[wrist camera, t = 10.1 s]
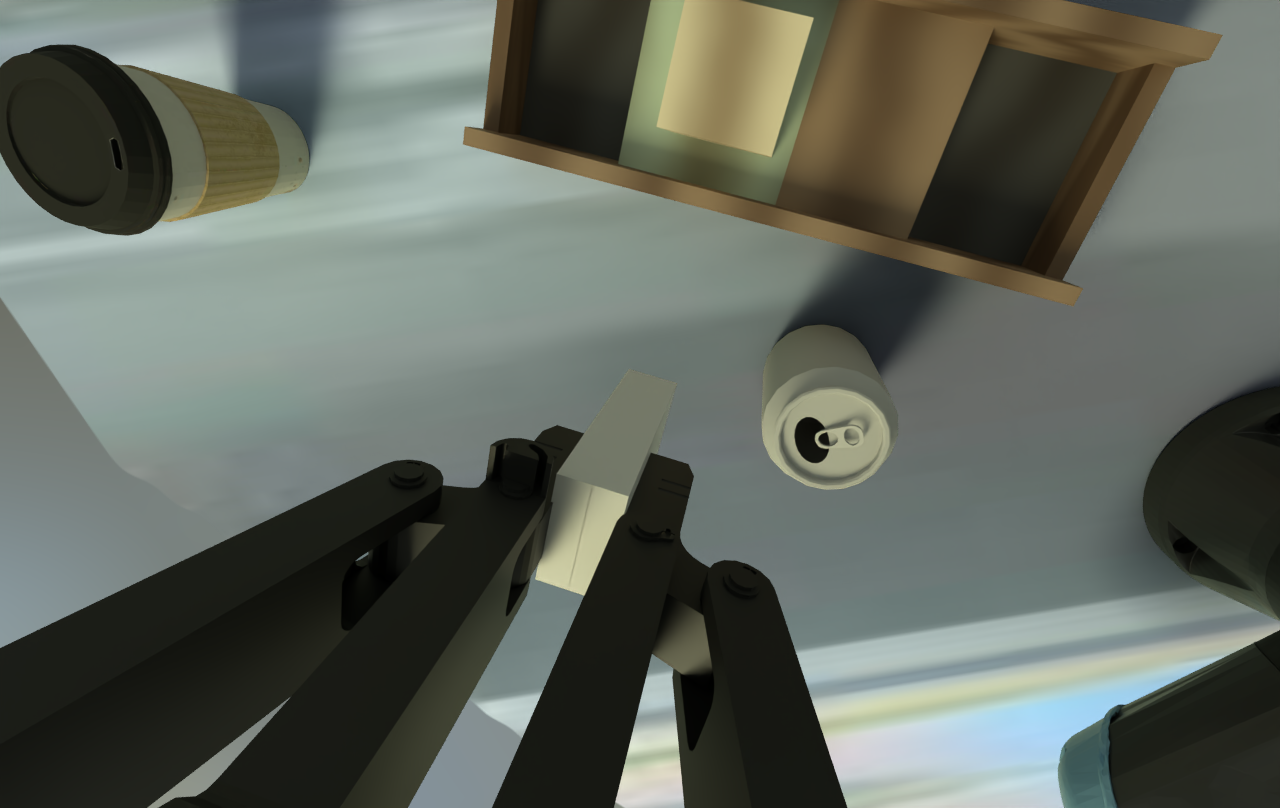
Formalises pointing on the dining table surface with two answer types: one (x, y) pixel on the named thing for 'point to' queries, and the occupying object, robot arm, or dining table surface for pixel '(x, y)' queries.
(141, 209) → the coffee cup
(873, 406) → the can
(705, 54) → the maple block
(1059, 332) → the dining table surface
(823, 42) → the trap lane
